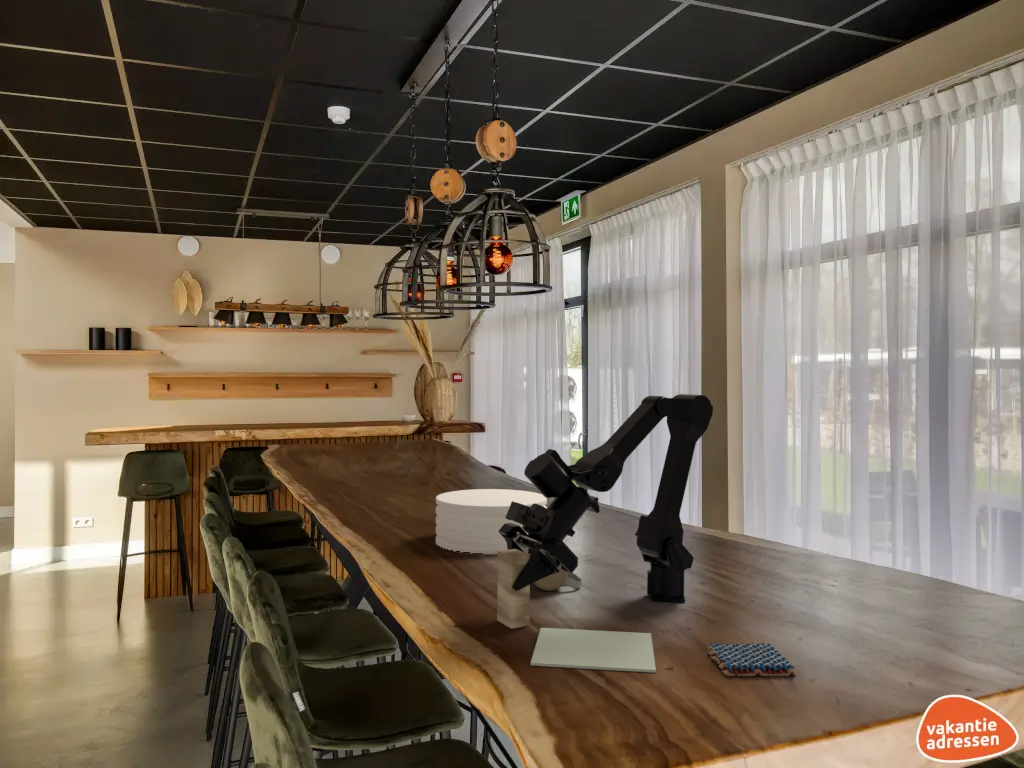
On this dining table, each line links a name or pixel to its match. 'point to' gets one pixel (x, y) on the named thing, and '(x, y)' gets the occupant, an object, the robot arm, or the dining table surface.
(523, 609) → the beige rectangular block
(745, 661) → the woven mat
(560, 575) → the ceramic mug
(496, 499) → the plate stack
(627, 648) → the sage placemat
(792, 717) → the dining table surface
